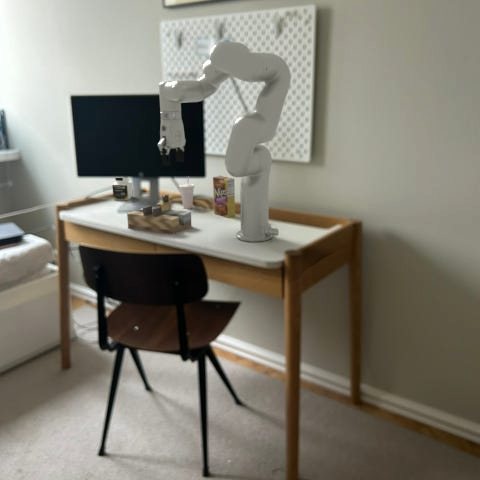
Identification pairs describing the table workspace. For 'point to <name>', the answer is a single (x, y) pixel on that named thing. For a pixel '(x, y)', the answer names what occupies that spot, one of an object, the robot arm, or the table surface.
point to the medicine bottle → (122, 189)
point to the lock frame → (159, 220)
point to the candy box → (224, 196)
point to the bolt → (164, 203)
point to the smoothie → (187, 194)
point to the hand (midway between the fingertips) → (173, 163)
